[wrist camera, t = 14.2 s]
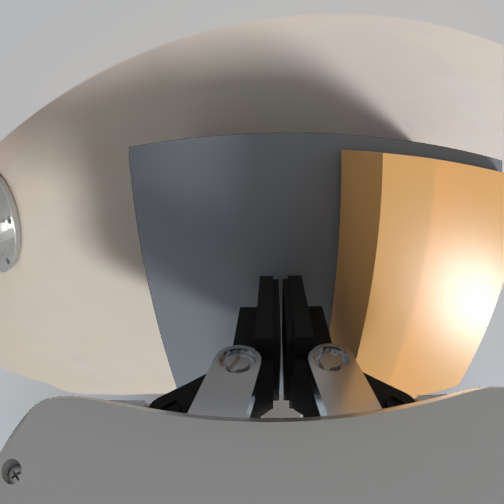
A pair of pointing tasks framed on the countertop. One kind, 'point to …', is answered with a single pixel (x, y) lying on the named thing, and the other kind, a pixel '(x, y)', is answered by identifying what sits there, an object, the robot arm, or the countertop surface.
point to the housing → (243, 227)
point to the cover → (416, 266)
